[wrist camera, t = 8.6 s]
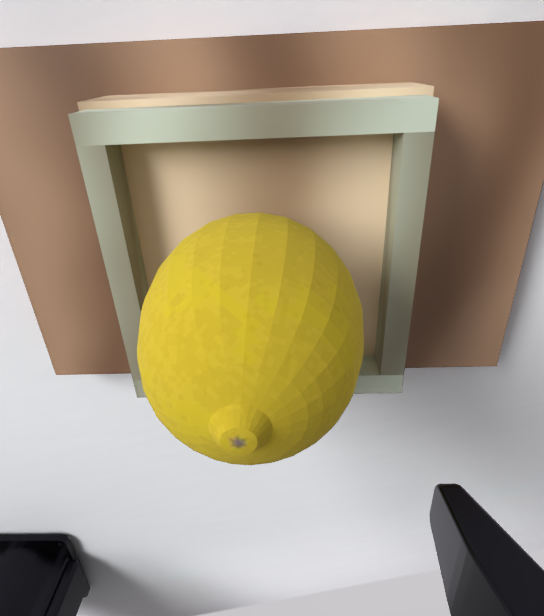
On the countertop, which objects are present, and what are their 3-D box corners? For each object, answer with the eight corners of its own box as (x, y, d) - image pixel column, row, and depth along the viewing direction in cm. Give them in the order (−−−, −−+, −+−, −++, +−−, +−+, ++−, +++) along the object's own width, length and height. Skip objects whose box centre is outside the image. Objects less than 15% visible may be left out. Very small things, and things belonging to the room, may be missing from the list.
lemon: (374, 218, 14) (457, 378, 7) (304, 352, 17) (316, 565, 10) (206, 152, 13) (115, 258, 6) (161, 303, 16) (61, 497, 9)
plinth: (69, 355, 22) (14, 433, 17) (-29, 51, 16) (-156, 48, 11) (483, 347, 21) (538, 425, 17) (557, 21, 15) (678, 6, 10)
